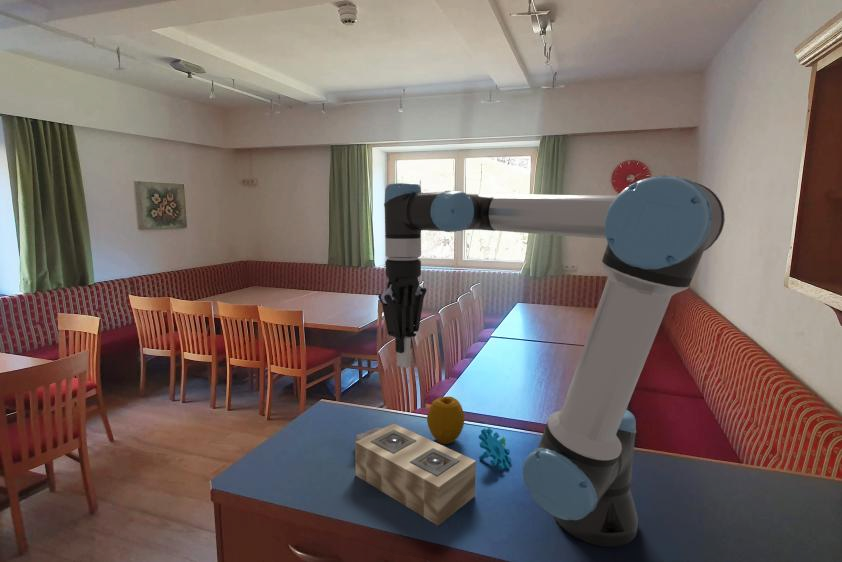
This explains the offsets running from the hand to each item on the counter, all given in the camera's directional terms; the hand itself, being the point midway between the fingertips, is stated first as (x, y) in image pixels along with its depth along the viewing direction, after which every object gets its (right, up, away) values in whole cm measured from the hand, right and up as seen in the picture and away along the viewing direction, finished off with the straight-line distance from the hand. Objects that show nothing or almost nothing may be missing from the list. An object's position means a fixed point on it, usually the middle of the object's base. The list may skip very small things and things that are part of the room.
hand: (403, 365), depth 97 cm
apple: (+10, -23, +18) cm, 31 cm away
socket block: (+2, -26, -1) cm, 26 cm away
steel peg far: (-2, -25, +3) cm, 25 cm away
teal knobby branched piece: (+21, -25, +8) cm, 34 cm away
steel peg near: (+6, -26, -5) cm, 27 cm away
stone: (-8, -24, +13) cm, 28 cm away
